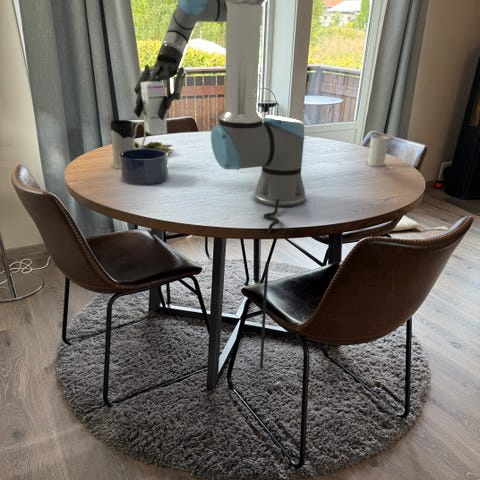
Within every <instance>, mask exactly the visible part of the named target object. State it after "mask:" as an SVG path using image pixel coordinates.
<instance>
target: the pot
mask: <svg viewBox="0 0 480 480" xmlns="http://www.w3.org/2000/svg"><path fill="white" fill-rule="evenodd" d="M119 158H120V167H121V169H120V175H121V177H120V178H121V181H122V182H123V183H125V184H129V185H134V186H152V185H159V184H163V183H165V182H167V181H168V180H169V160H168V158H169V157H168V155H167V153H166V152H164V151H162V150H157V149H133V150H127V151H124V152H121V153H120V154H119Z"/></svg>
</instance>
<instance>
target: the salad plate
mask: <svg viewBox="0 0 480 480" xmlns="http://www.w3.org/2000/svg"><path fill="white" fill-rule="evenodd" d="M134 142H135V149H139V148H140V146H141V143H139V142H138V141H136V140H134ZM171 147H173V144H163V142H162V141H161V142H159V141H150V142H149V143H147V144H143V146H142V148H141V149H157V150H162V151H164V152H166V153H167V156H170V155H171V154H172V153H173V152H174V149H172V148H171Z"/></svg>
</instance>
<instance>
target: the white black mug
mask: <svg viewBox="0 0 480 480" xmlns="http://www.w3.org/2000/svg"><path fill="white" fill-rule="evenodd" d="M109 124H110V139H111V145H112V156H113V165H112V166H113V168H115V169H119V170H121V167H120V158H119V154H120V153H121V152H124V151H127V150H133V149H135V142H134V141H135V137H136V136H137V128H138V127H139V126H140V125H142V127H143V139H142V142H141V143H140V145H141V146H140V148H139V149H141V148H142V146H143V145H145V141H146V138H147V137H146V136H147V132H145V129H144V123H141V122H138V123H136V125H135V127H133V121H132V120H128V119H117V120H116V119H115V120H111V121H110V123H109Z"/></svg>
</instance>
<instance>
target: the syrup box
mask: <svg viewBox="0 0 480 480" xmlns="http://www.w3.org/2000/svg"><path fill="white" fill-rule="evenodd" d="M141 93H142V105H143V110H142V116H143V125H144V127H143V130H144V129H145V132H146V134H149V135H151V136H156V135H167V134H168V126H167V124H168V123H167V113H166V114H165V116H164V119H163V120H161V119H160V117H159V116H158V111H159V108H160V106H161V103H162V100H163V98H164V96H166V94H165V84H164V83H162V82H161V81H160V82H156V81H148V82H141Z"/></svg>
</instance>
